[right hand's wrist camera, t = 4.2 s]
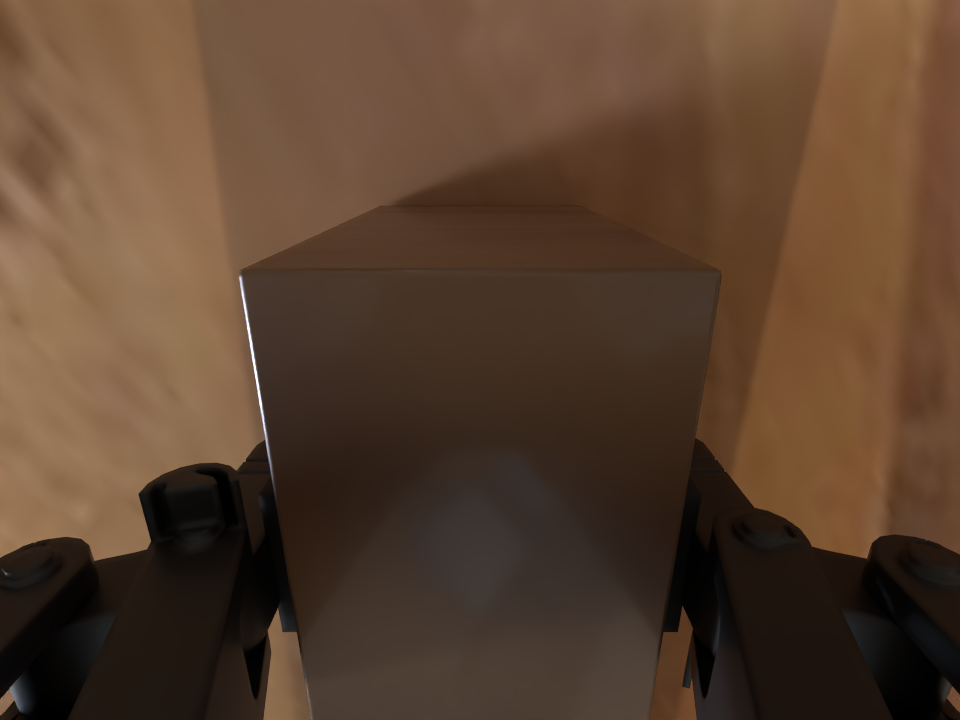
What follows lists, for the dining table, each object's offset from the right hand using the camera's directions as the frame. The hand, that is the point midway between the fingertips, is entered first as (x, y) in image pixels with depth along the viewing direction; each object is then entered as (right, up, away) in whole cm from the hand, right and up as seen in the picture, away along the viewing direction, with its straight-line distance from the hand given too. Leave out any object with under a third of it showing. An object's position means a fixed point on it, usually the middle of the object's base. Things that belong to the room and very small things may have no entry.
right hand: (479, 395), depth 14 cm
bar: (0, -34, +14) cm, 37 cm away
